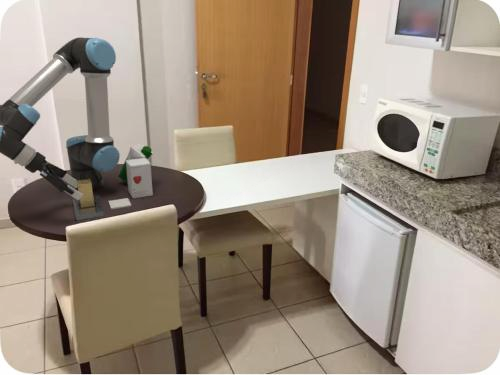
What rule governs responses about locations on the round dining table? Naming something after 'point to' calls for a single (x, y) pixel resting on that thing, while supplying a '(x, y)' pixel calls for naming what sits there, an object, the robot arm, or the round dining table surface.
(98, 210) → the grey metal slotted plate
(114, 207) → the mat
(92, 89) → the robot arm
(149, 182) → the supplement box
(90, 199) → the gold metal column
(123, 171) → the milk carton
